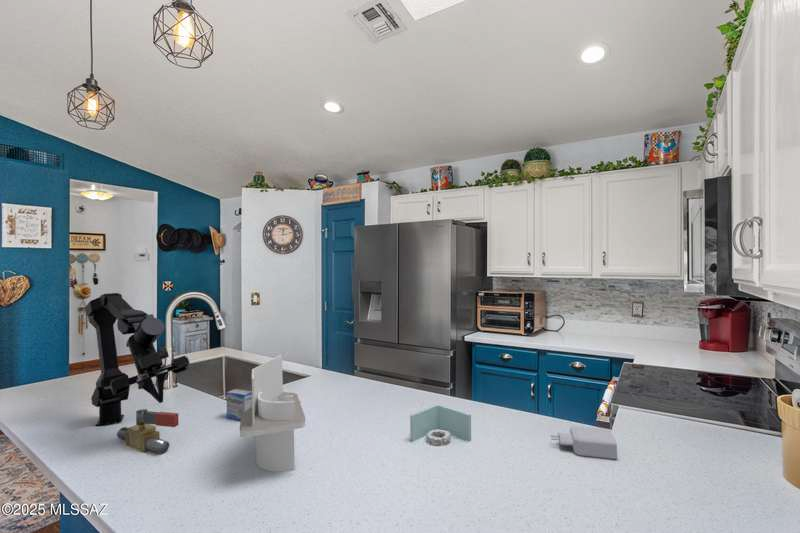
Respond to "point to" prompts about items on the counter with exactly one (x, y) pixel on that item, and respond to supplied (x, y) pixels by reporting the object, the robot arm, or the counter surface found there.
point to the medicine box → (238, 403)
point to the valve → (143, 438)
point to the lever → (156, 418)
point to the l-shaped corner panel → (440, 425)
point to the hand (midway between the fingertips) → (161, 402)
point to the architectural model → (272, 418)
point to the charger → (589, 442)
